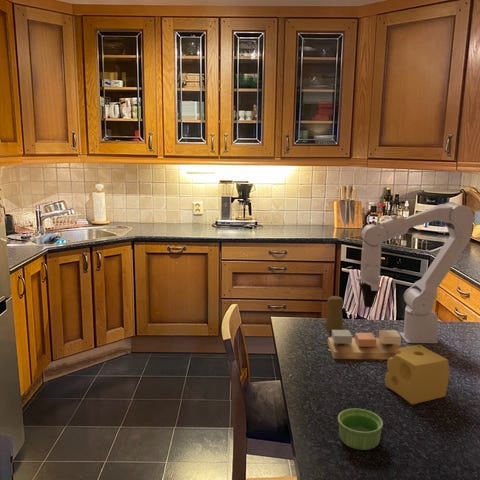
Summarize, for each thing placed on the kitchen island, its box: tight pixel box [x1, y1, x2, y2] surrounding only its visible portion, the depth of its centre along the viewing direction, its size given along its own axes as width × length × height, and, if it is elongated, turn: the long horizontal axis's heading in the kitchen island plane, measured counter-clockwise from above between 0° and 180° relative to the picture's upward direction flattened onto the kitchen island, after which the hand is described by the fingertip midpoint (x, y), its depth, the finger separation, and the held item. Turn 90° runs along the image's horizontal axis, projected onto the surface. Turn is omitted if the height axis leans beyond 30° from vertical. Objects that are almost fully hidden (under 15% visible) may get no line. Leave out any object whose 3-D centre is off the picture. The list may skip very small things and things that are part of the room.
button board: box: [327, 336, 402, 360], centre depth 142 cm, size 20×11×3 cm, turn 88°
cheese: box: [384, 344, 450, 405], centre depth 118 cm, size 10×11×10 cm
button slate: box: [331, 329, 353, 344], centre depth 142 cm, size 5×5×2 cm
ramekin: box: [337, 408, 384, 451], centre depth 99 cm, size 9×9×4 cm
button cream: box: [378, 329, 402, 345], centre depth 141 cm, size 5×5×2 cm
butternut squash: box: [324, 295, 345, 333], centre depth 159 cm, size 6×6×11 cm
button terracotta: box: [354, 332, 377, 347], centre depth 142 cm, size 5×5×2 cm
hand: (368, 306), depth 150 cm, fingers closed
